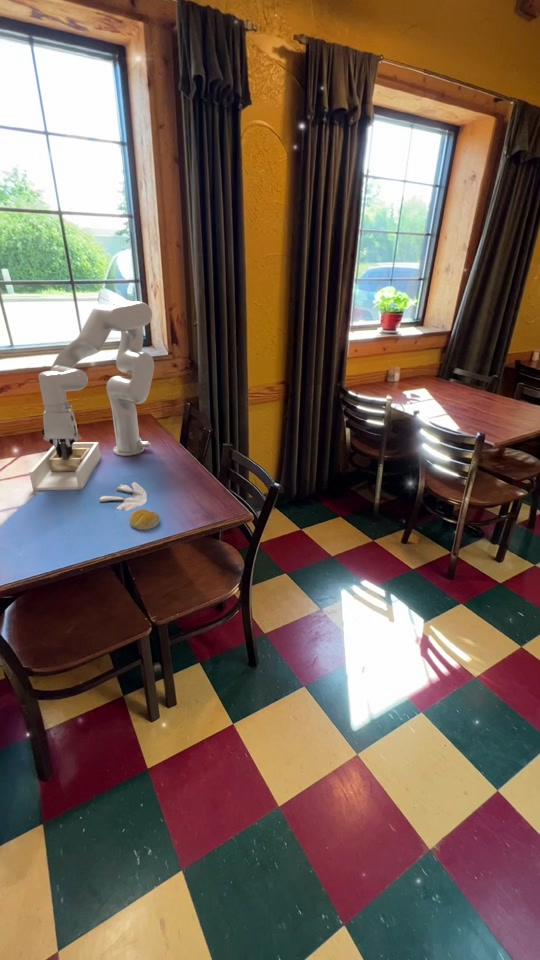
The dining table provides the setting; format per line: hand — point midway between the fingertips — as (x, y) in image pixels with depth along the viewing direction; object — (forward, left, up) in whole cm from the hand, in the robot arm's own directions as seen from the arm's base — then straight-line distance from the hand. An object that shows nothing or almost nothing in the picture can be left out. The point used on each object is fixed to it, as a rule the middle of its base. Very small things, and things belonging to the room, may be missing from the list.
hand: (65, 455), depth 163 cm
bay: (0, -1, -8) cm, 8 cm away
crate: (0, -5, -6) cm, 8 cm away
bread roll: (-33, +37, -8) cm, 50 cm away
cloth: (-23, +18, -9) cm, 30 cm away
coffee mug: (+11, -27, -8) cm, 30 cm away
